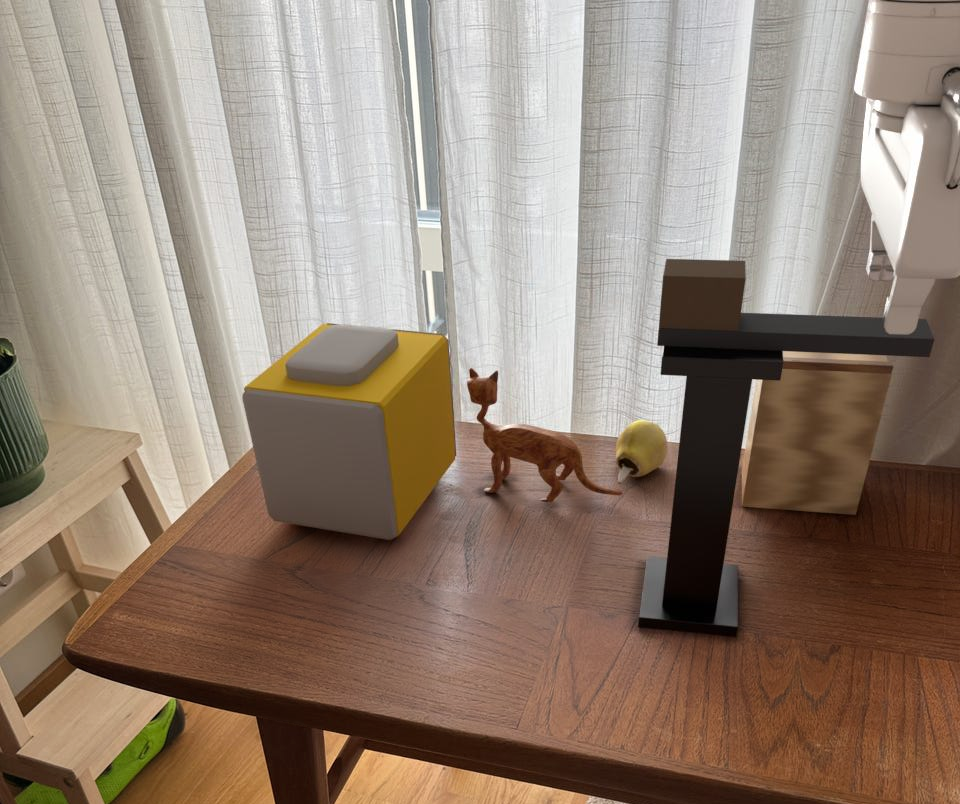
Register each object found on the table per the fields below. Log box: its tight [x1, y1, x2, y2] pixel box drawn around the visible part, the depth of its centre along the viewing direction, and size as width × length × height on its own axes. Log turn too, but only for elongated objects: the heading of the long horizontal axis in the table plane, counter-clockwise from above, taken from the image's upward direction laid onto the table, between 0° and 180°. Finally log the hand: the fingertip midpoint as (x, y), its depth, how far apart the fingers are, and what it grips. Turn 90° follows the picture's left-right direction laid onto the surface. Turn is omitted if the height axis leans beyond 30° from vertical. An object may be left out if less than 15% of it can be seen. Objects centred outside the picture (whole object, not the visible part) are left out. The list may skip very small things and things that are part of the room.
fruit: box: [615, 419, 669, 485], centre depth 107 cm, size 6×6×10 cm
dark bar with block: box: [657, 258, 935, 358], centre depth 70 cm, size 20×4×5 cm, turn 78°
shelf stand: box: [637, 346, 784, 638], centre depth 81 cm, size 9×10×26 cm
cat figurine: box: [466, 367, 624, 503], centre depth 101 cm, size 18×7×14 cm, turn 70°
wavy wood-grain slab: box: [741, 351, 894, 516], centre depth 98 cm, size 12×8×17 cm, turn 78°
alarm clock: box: [241, 322, 457, 541], centre depth 100 cm, size 20×16×18 cm
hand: (887, 302), depth 60 cm, fingers open, 8 cm apart
